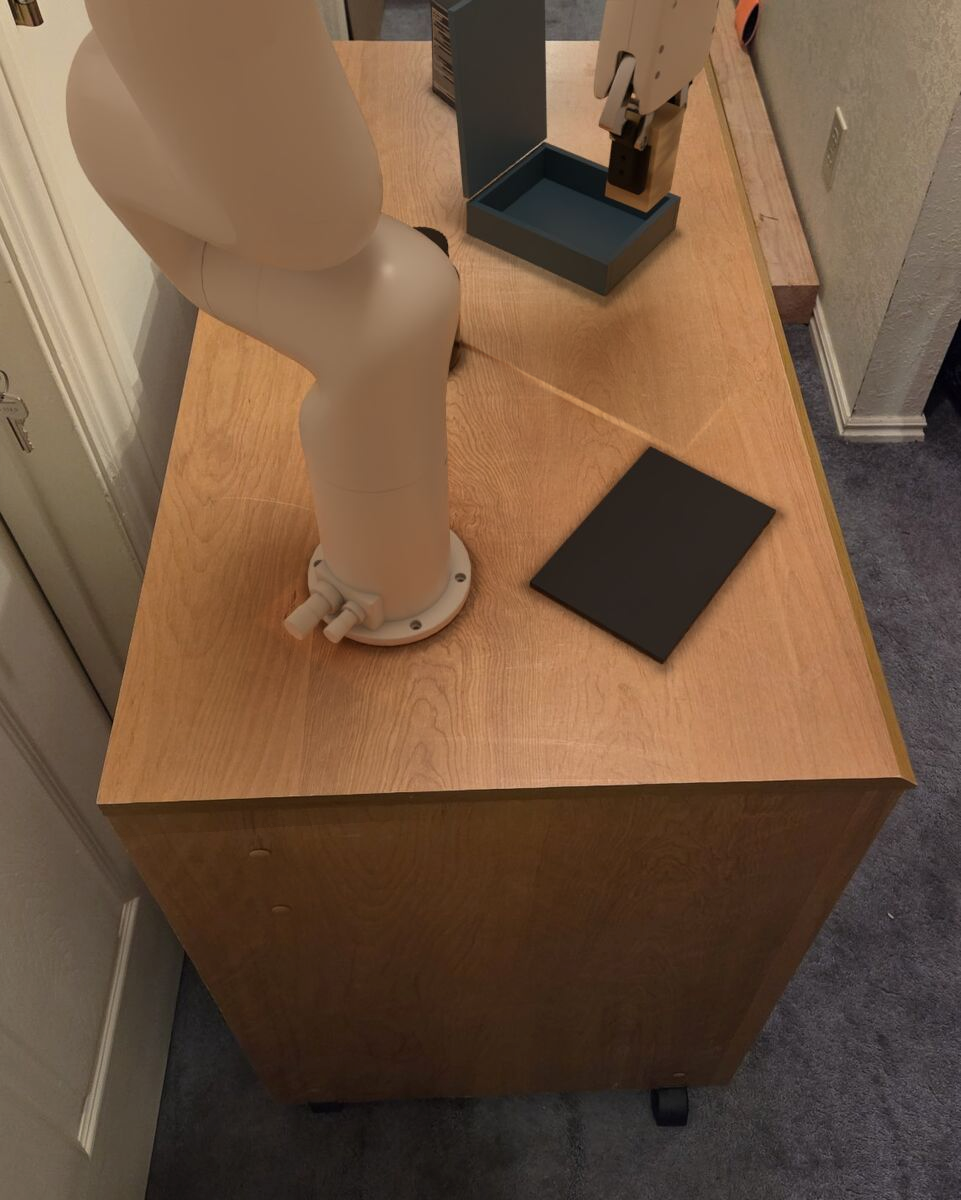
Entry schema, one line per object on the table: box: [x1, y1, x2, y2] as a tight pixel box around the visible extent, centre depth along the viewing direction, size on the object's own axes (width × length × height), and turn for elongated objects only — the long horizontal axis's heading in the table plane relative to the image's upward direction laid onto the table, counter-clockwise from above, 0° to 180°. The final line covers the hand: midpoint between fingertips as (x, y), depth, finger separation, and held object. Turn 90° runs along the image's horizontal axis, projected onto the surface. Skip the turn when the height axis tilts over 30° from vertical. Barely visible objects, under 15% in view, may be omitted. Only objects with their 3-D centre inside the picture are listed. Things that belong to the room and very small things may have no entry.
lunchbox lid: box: [447, 0, 548, 200], centre depth 99 cm, size 17×14×1 cm
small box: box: [429, 0, 462, 110], centre depth 117 cm, size 11×6×10 cm, turn 34°
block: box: [605, 96, 686, 212], centre depth 83 cm, size 4×4×7 cm
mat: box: [529, 445, 777, 664], centre depth 83 cm, size 18×12×1 cm, turn 144°
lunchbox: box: [465, 141, 682, 297], centre depth 105 cm, size 17×14×4 cm
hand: (640, 172), depth 84 cm, fingers closed on block, 4 cm apart
